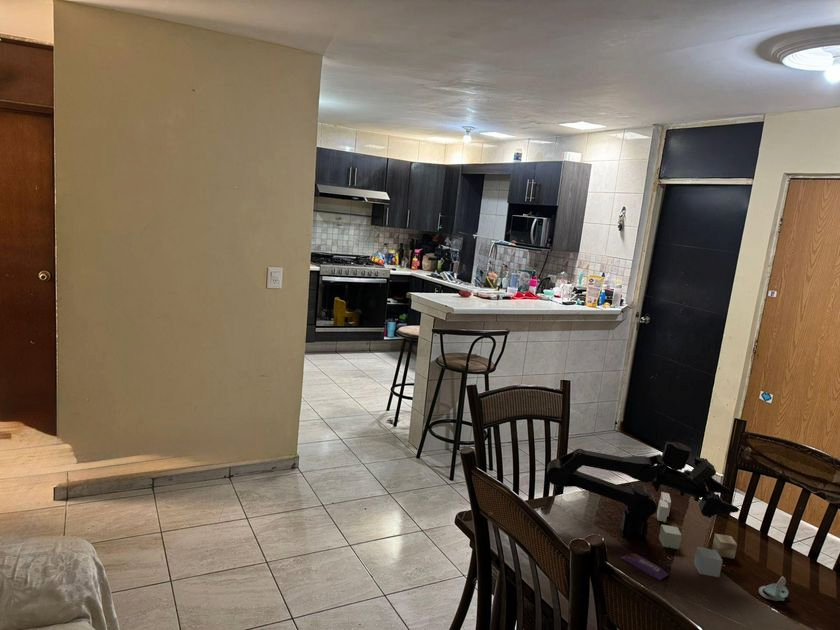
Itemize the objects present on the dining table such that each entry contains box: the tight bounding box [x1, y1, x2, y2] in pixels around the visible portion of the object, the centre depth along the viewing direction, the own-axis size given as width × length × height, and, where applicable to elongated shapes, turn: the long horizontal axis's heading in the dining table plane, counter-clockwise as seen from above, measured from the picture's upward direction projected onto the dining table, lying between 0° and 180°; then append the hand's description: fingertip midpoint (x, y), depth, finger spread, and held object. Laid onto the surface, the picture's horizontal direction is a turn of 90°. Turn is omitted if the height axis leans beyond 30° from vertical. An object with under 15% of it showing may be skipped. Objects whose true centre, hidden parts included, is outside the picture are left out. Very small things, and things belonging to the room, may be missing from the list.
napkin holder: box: [656, 491, 672, 523], centre depth 186 cm, size 15×11×6 cm
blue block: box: [693, 546, 723, 578], centre depth 156 cm, size 5×5×5 cm
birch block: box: [711, 533, 738, 560], centre depth 165 cm, size 4×4×4 cm
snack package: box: [619, 552, 670, 581], centre depth 155 cm, size 12×2×5 cm
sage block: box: [658, 524, 682, 550], centre depth 168 cm, size 4×4×4 cm
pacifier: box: [758, 576, 789, 602], centre depth 147 cm, size 7×6×6 cm
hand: (734, 501), depth 163 cm, fingers open, 9 cm apart
